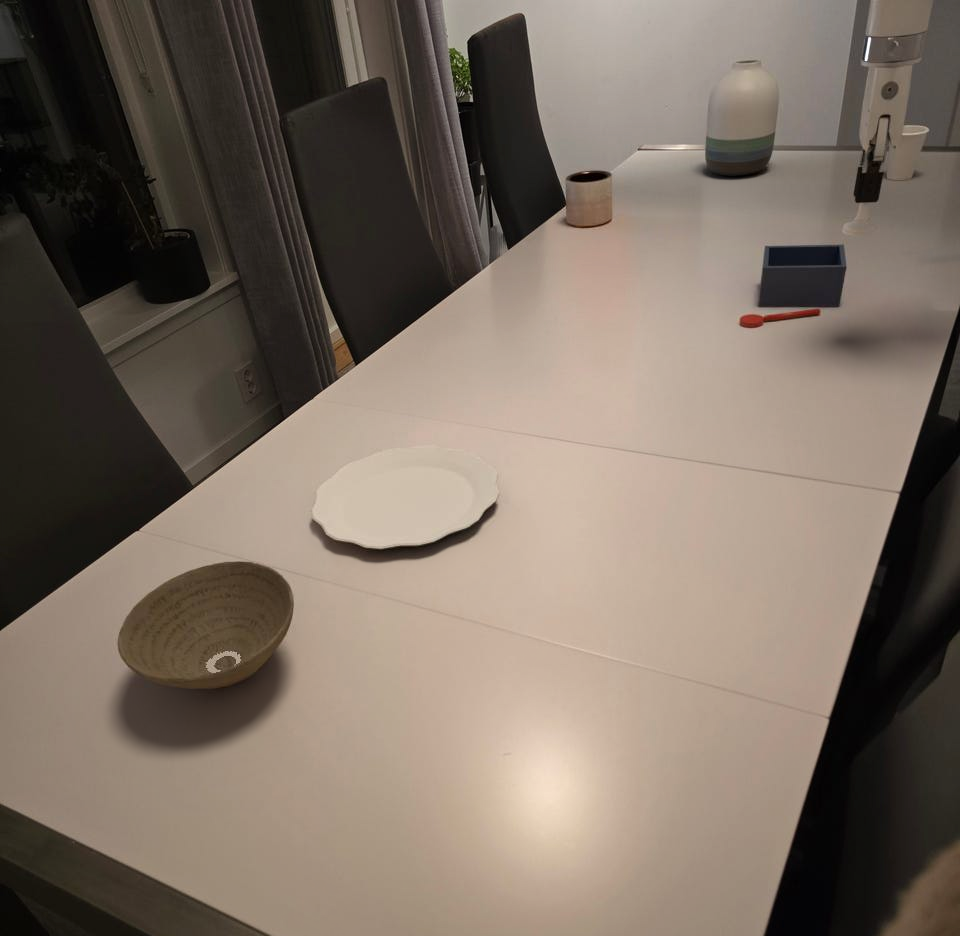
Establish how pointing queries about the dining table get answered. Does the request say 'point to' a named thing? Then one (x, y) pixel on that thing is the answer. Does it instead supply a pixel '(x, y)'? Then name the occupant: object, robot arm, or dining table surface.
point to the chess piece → (860, 223)
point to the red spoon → (774, 317)
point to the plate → (405, 497)
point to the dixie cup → (906, 153)
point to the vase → (742, 120)
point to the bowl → (208, 625)
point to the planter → (589, 198)
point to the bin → (802, 275)
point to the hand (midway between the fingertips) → (865, 198)
